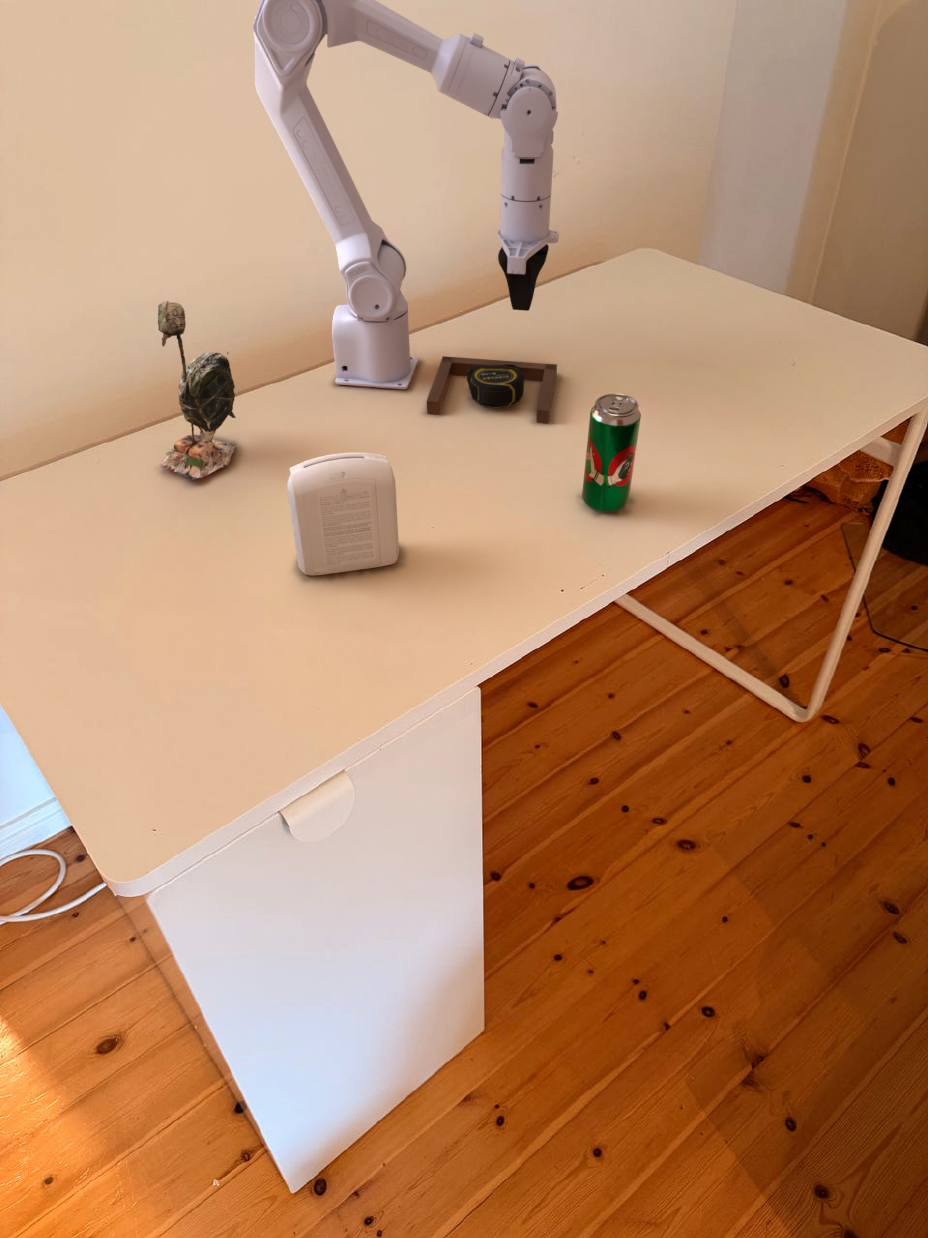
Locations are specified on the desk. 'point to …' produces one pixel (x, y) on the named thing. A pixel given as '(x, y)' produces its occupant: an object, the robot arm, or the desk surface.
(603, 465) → the soda can
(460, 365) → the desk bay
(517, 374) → the tape measure
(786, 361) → the desk surface
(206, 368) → the plant with pod
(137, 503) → the desk surface
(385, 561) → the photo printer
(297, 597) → the desk surface
